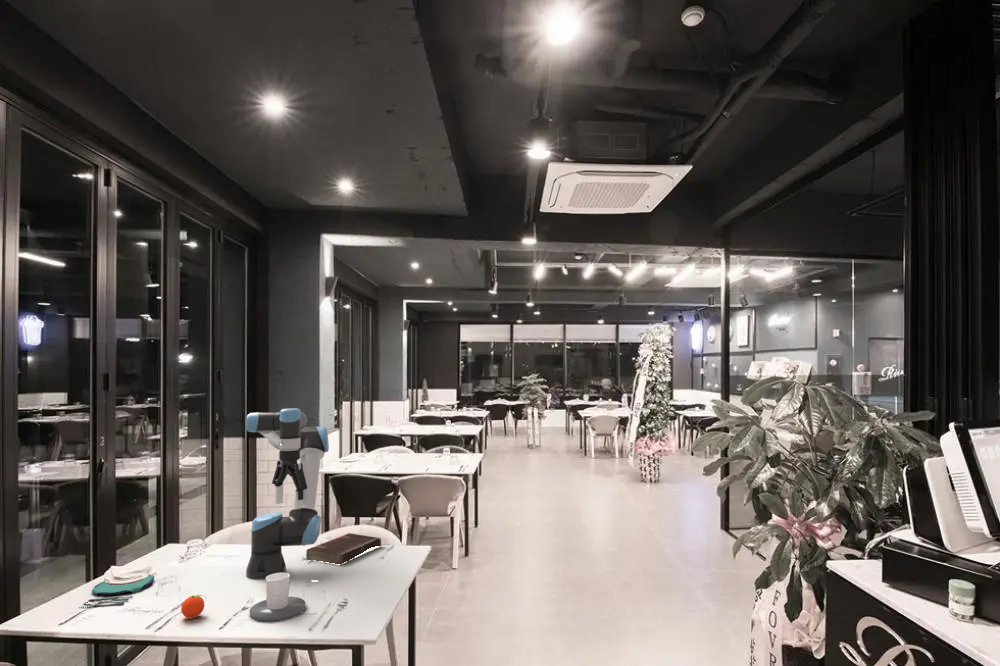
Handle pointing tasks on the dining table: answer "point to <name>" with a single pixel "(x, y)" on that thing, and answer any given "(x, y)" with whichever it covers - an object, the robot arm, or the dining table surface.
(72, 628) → the dining table surface
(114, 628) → the dining table surface
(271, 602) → the white cup
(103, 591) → the cutlery set
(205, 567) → the dining table surface
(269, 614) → the slate plate
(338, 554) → the hardback book
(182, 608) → the clementine
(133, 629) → the dining table surface
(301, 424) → the robot arm
